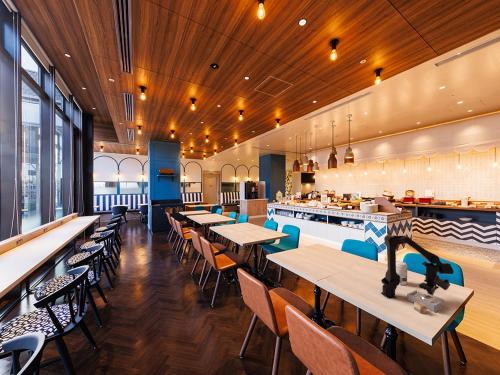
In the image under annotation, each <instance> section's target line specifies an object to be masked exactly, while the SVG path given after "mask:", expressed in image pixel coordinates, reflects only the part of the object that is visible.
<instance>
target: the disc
mask: <svg viewBox="0 0 500 375" xmlns="http://www.w3.org/2000/svg"><path fill="white" fill-rule="evenodd" d="M419 299H422V300H424V301H427V302H429V303H433V301H434V299H433V297H431V296H429V295H426V294H419Z"/></svg>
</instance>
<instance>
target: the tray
mask: <svg viewBox="0 0 500 375" xmlns="http://www.w3.org/2000/svg"><path fill="white" fill-rule="evenodd" d="M419 294H426V295H429V296H431V297H433V299H434V301H433V303H432V304H434V305H435V304H436V303H438V302H439V301H441V300H442V299H443V298H441V297H439V296H436V295H431V294H428V292H425V291H422V290H420V289H417V293H416V294H414V295H412V296H414V297H417V298H419Z"/></svg>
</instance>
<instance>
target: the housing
mask: <svg viewBox="0 0 500 375" xmlns="http://www.w3.org/2000/svg"><path fill="white" fill-rule="evenodd" d="M416 293H418V289H415V290H413V291H411V292H409V293H407V294H406V295H407V296H406V301H408V302H410V303H412V304H414V302H421V303H423V304H424V305H426V306H427V311H431V312H433V313H437V312H439V310H441V309H442V308H444V306H445V299H443V298H442V300H441V301H439V302H438V303H436V304H435V305H434V304H432V303H429V302H427V301H424V300H422V299H419V298H417V297H414V296H412V295H414V294H416Z"/></svg>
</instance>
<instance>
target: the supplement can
mask: <svg viewBox="0 0 500 375" xmlns="http://www.w3.org/2000/svg"><path fill="white" fill-rule="evenodd" d="M396 273H397V274H398V275H400V282H399V284H400V286H406V285H407V284H408V265H407V263H406V262H403V261H400V260H398V261H397V260H396Z"/></svg>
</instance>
